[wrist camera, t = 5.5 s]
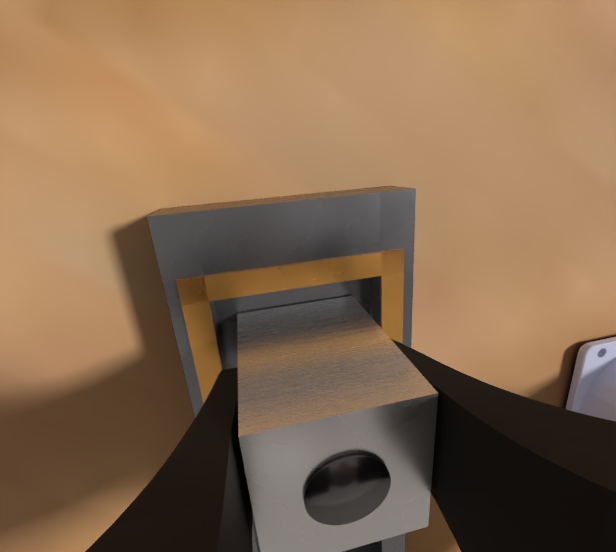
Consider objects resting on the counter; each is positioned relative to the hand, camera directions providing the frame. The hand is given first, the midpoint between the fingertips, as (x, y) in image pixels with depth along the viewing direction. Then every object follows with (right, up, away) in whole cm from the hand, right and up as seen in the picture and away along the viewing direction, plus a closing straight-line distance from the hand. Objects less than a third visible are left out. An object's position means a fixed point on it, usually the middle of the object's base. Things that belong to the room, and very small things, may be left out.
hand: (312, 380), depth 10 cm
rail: (0, -7, +6) cm, 9 cm away
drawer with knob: (0, 0, +2) cm, 2 cm away
